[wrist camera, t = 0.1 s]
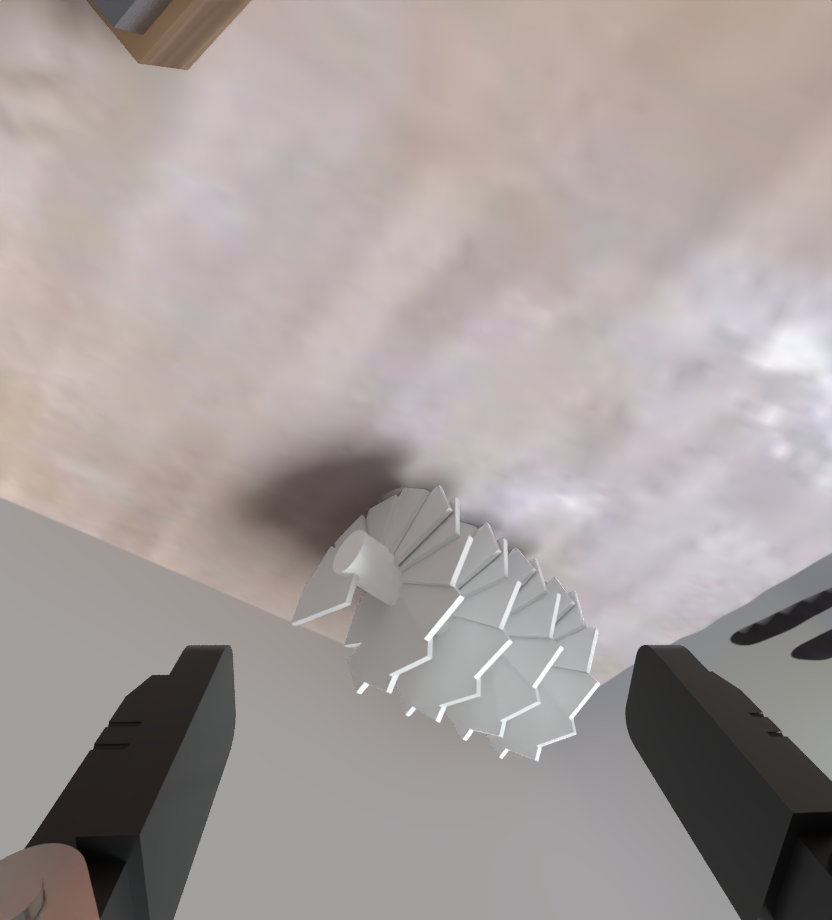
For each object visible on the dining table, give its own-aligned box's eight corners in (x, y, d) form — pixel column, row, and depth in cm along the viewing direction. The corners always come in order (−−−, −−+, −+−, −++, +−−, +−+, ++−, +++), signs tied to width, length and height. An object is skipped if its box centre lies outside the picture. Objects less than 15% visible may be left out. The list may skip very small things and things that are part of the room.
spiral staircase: (388, 441, 49) (542, 564, 59) (277, 580, 49) (450, 679, 59) (463, 501, 32) (660, 658, 42) (294, 713, 32) (532, 820, 42)
